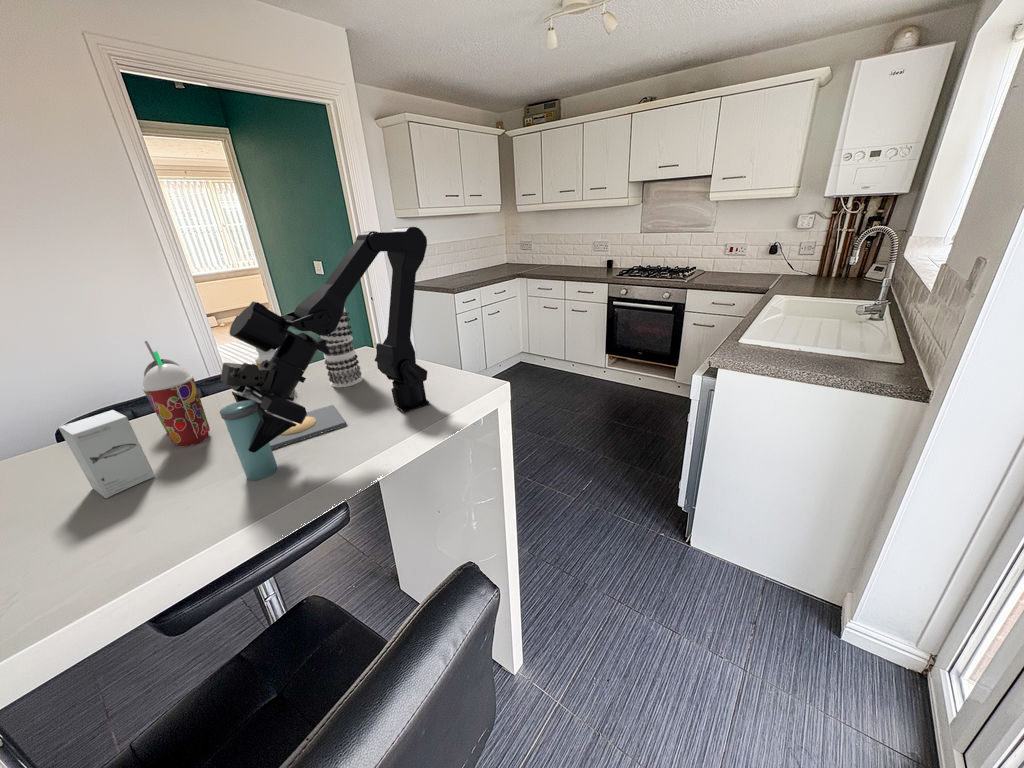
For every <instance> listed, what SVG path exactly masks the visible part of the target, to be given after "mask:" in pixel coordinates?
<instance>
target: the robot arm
mask: <svg viewBox="0 0 1024 768" xmlns="http://www.w3.org/2000/svg"><path fill="white" fill-rule="evenodd" d="M427 246H428V239H427V235H425V233H424V231H422V229H420V228H419V227H417V226H405V227H394V228H393V229H391V230H390V231H387V232H384V231H383V232H379V231H375V230H370V231H362V232H360V233H359V234H358V235H357V236H356V238H355V241H354V242H353V244H352V245H351V247H350V248H349V249H348V251H347V252H346V253H345V255H344V256H343V257H342V259H341V260H340V262H339V263H338V264H337V266H336V267H335V269H334V270H333V271H332V273H331V274H330V275H329V277H328V278H327V280H326V281H325V282H324V283H323V284H322V286H320V287H319V288H318V289H316V290H315V291H313V292H312V293H310V294H309V295H307V297H305V298H304V299H303V300H302V301H301V302H300V303H299V304H297V306H296V307H295V309H294V310H293V311H290V312H287V313H284V314H281V315H279V314H277V313H275V312H273V311H271V310H270V309H268V308H267V307H266V306H265V305H264V304H262V303H260V302H258V301H251V303H250V304H249V306H247V307H246V308H245V309H243V310H242V312H241V313H239V315H236V316H235V317H234V320H233V322H232V323H231V325H230V328H229V335H230V337H232V338H235V339H237V340H238V341H241V342H244V343H245V344H247V345H249V346H251V347H254V348H255V349H256V348H257V349H259V350H262V351H264V352H267V351H269V350H271V349H273V350H275V349H276V352H275V353H274V355H273V356H274V357H272V358H271V360H270V361H268V360H265V361H263V362H262V363H261V365H260V366H257V364H256V363H247V362H243V363H235V362H223V363H222V369H221V375H220V382H221V383H224V384H225V386H228V387H230V389H232V390H233V391H232V392H231V395H232V396H233V398H234V400H235V403H237V402H241V401H247V400H253V401H256V402H257V405H258V408H257V411H258V414H259V418H260V422H259V424H258V426H257V429H256V431H255V433H254V436H253V438H252V440H251V443H250V446H249V448H248V451H250V452H253V453H255V452H256V451H258V450H259V449H261V448H262V447H263V446H265V445H266V444H267V443H269V442H270V441H272V440H273V439H274V438H276V437H277V436H279V435H280V434H282V433H283V432H285V431H286V430H288V429H289V428H291V427H295V426H296V425H297V424H296V423H299V424H302V423H303V421H304V419H305V417H306V416H307V412H308V411H307V409H306V407H304V406H303V405H301V404H299V403H297V402H295V401H294V399H295V398H294V397H292V394H293V392H294V391H295V389H296V388H297V386H298V384H299V383H302V384H304V383H305V381H306V379H307V377H304V376H303V375H304V374H305V371H306V370H307V369H308V367H309V365H310V363H311V361H312V360H313V357H314V356H315V355H316V353H317V352H318V353H321V354H323V355H324V354H329V350H328V347H327V345H326V340H324V339H321V338H319V339H318V338H317V339H316V338H314V337H312V336H310V335H308V334H307V333H311V334H315V335H318V336H319V335H327V334H331V333H332V332H333V331H334V330H335V329H336V328H337V326H338V324H339V322H340V319H341V317H342V315H343V313H344V306H345V307H346V305H345V304H346V301H347V299H348V298H349V296H350V294H351V293H352V292H353V290H354V289H355V287H356V286H357V284H358V283H359V282H360V280H361V279H362V277H363V276H364V274H365V273H366V272H367V270H368V269H369V267H370V266H371V265H372V263H373V262H374V260H375V259H376V257H378V255H379V253H381V252H386V253H387V258H388V261H389V263H390V266H391V270H392V274H391V286H390V299H389V311H388V312H389V313H388V326H387V333H386V334H387V336H386V338H385V339H384V341H383V342H382V343H379V342H378V343H376V345H375V348H376V353H375V354H376V355H375V359H374V362H376V365H377V369H378V370H379V371H380V372H381V373H382V374H383V375H385V376H386V377H387V379H388V380H389V381H392V382H391V383H392V388H391V394H392V398H393V403H394V405H395V407H396V408H398V409H399V410H401V411H402V412H403V413H407V412H409V411H413V410H416V409H418V408H421V407H424V406H427V405H430V400H428V399H427V396H426V390H425V383H424V382H425V381H427V379H428V370H427V369H425V368H423V367H422V366H420V365H419V364H417V360H416V357H417V356H416V351H415V348H414V346H413V343H412V340H411V334H412V333H411V332H412V323H413V312H414V311H413V309H414V298H415V290H416V289H415V286H416V277H417V272H418V270H419V268H420V267H421V265H422V264H423V261H425V255H426V251H427V248H428V247H427ZM289 329H293V330H297V331H300V332H301V333H298V334H296V333H294V332H292V331H291V330H289ZM305 332H307V333H305ZM293 421H294V422H296V423H294V422H293Z"/></svg>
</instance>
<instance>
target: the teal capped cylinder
mask: <svg viewBox="0 0 1024 768" xmlns="http://www.w3.org/2000/svg"><path fill="white" fill-rule="evenodd" d="M257 408H258V405H257V402H256V401H253V400H247V401H241V402H234V403H231V404H228V405H226V406H225V407H222V408H221V409H220V411H219V415H220V417H221V419H222V420H224V423H225V425H226V428H227V431H228V434H229V436H230V438H231V441H232V443H233V447H234V449H235V452H236V454H237V456H238V459H239V462H240V465H241V466H242V470H243V472H244V474H245V475H244V476H245V477H246V479H247V480H248V481H258V480H262V479H266V478H267V477H269V476H271V475H273V474H274V473H276V472H277V470H278V464H277V460H276V458H275V455H274V453H273V449H271V446H270V444H269V443H267V444H266V445H265V446H263V447H262V448H261V449H259V450H258V451H256V452H255V453H253V452H250V451H248V448H249V446H250V443H251V440H252V438H253V436H254V433H255V431H256V429H257V426H258V424H259V422H260V418H259V414H258V411H257Z"/></svg>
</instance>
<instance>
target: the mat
mask: <svg viewBox="0 0 1024 768" xmlns="http://www.w3.org/2000/svg"><path fill="white" fill-rule="evenodd" d="M306 412H307V416H306V417H305V419H304V421H303V423H302V424H299V423H296V422H294V421H293V422H294V423H296V424H297V425H296V426H295V427H291V428H289V429H288V430H286V431H285V432H283V433H282V434H280V435H279V436H277V437H276V438H274V439H273V440H272V441H270V442H269V444H270V446H271V449H272V450H275V449H278V448H280V446H281V447H284V446H286V445H285V444H287V445H289V444H288V443H290V444H292V443H291V442H293V443H296V442H299V441H298V440H300V441H302V440H301V439H303V440H305V439H304V438H306V439H308V437H309V438H311V437H310V436H312V437H314V436H313V435H315V436H317V435H316V434H318V435H320V434H319V433H321V432H324V433H326V432H325V431H328V430H331V429H334V430H336V429H335V428H337V429H339V427H340V428H343V427H346V426H348V424H347V421H346V420H345V418H344V417H343V416H342V414H341V413H340V412H339V410H338V409H337V407H336V406H335V405H334V404H330V405H326V406H324V407H320V408H317V409H314V410H310V411H306ZM345 425H346V426H345ZM342 426H343V427H342ZM331 431H332V430H331ZM328 432H329V431H328ZM321 434H322V433H321ZM295 441H296V442H295ZM283 445H284V446H283ZM277 447H278V448H277ZM274 448H275V449H274Z"/></svg>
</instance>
